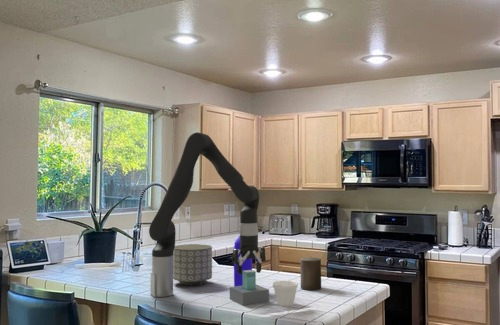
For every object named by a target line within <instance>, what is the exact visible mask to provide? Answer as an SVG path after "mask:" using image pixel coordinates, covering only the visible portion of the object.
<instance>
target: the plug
mask: <svg viewBox="0 0 500 325" xmlns="http://www.w3.org/2000/svg"><path fill="white" fill-rule="evenodd" d="M256 274H257V272H256V271H255V270H253V269H252V270H246V271H243V289H245V290H252V289H256V285H257V284H256V283H257V282H256V280H257V278H256Z"/></svg>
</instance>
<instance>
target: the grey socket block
mask: <svg viewBox="0 0 500 325" xmlns="http://www.w3.org/2000/svg"><path fill="white" fill-rule="evenodd" d="M229 300H230V301H233V302H234V303H237V304H238V305H241V306H250V305H252V306H253V305H258V304H259V305H260V304H263V303H265V304H266V303H270V290H269V289H268V288H266V287H263V286H261V285H258V284H256V289H252V290H245V289H243V285H242V286H234V285H233V286H229Z"/></svg>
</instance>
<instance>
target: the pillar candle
mask: <svg viewBox="0 0 500 325" xmlns="http://www.w3.org/2000/svg"><path fill="white" fill-rule="evenodd" d="M299 264H300V267H299V269H300V289H301V290H305V291H318V290H319V291H320V290H322V259H321V258H318V257H312V256H310V257H301V258H300V263H299Z"/></svg>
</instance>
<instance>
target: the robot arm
mask: <svg viewBox="0 0 500 325" xmlns="http://www.w3.org/2000/svg"><path fill="white" fill-rule="evenodd" d="M201 155H202V156H203V157H204V158H205V159H207V160H208V161H209V162H210V163H211V164H212V165H213V167H214V169H215V170H216V172H217V174H218V175H219V177H220V178H221V179H222V180H223V181H224V182H225V183H226V184H227V185H228V187H229V188H230V189H231V191H232V192H233V194H234V195H235V197H236V198H237V200H238V201H240V202H242V203H243V208H242V209H241V210H240V212H239V213H240V214H239V215H240V216H239V217H240V218H239V221H240V223H239V236H240V249H234V248H233V249H232V264H233V265H234V264H236V265H237V273H238V274H239V275H242V263H243V262H244V261H245V259H250V258H251V259H252V260H253V259H254V260H255V262H256V263H255V266H256V267H255V268H256V273H261V271H262V263H263V262H266V261H267V260H266V259H267V258H266V248H265V247H264V246H259V227H258V208H259V202H260V201H259V200H260V193H259V190H258V188H257V187H256V186H254V185H248V184H247V183H246V182H245V180H244V177H243V175H242V174H241V173H240V172H239V171H238V170H237V169H236V168H235V166H234V165H233V164H231V163H230V161H229V160H227V158H226V157H225V156H224V155H223V153H222V152H221V150H220V149H219V148H218V147H217V145H216V144H215V142H214V140H213V139H212V138H211V136H209V134H206V133H203V132H197V131H196V132H193V133H192V132H191V134H189V136H188V137H187V139H186V141H185V145H184V147H183V151H182V154H181V157H180V160H179V163H178V164H177V167H176V170H175V171H174V174H173V176H172V179H171V180H170V183H169V185H168V188H167V190H166V192H165V194H164V197H163V200H162V202H161V205H160V206H159V209H158V210H157V212H156V214H155V216H154V217H153V220H152V221H151V223H150V225H149V228H148V234H149V237H150V239H151V240H153V241H155V242H156V244H155V246H154V247H153V248H152V251H151V272H150V296H152V297H153V298H163V297H171V296H172V295H174V279H173V251H174V248H175V246H176V234H177V232H176V231H177V230H176V226H175V223H174V221H172V220H173V217H174V215H175V214H176V213H177V211H178V210H179V209H180V207H182V205H183V203H184V202H185V201H186V199H188V196H189V194H190V192H191V190H192V186H193V184H194V176H195V175H194V173H195V166H196V164H197V161H198V159H199V157H200V156H201ZM258 246H259V247H258ZM239 252H240V253H241V255H240V257H239V260H238V254H239ZM258 252H259V254H258Z"/></svg>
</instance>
